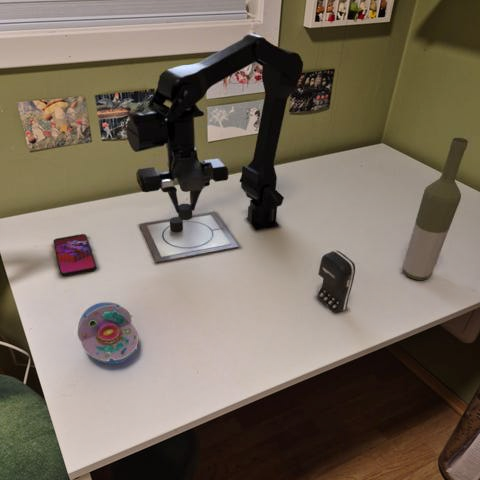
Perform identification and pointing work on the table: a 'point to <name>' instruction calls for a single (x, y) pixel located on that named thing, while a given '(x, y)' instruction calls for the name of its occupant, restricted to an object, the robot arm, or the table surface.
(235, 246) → the board
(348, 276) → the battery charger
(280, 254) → the table surface
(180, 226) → the dot
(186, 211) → the dot
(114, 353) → the cell model
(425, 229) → the bottle
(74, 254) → the smartphone
